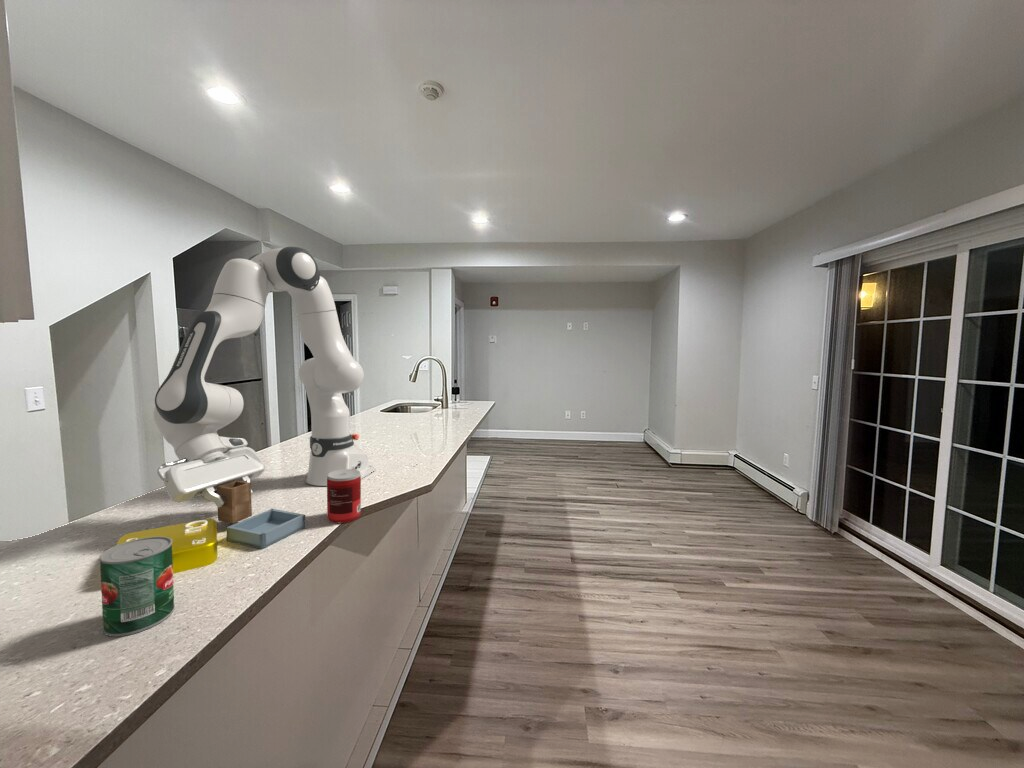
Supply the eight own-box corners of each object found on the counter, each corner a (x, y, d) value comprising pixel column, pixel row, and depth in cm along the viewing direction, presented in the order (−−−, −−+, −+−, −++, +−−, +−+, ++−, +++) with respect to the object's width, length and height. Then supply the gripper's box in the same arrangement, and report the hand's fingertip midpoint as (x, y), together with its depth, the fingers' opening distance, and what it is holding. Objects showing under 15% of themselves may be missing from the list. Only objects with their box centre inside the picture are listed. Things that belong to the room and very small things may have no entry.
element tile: (121, 554, 78) (120, 531, 78) (216, 535, 87) (215, 514, 87) (106, 592, 66) (105, 564, 66) (217, 565, 76) (217, 540, 75)
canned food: (352, 508, 103) (352, 467, 103) (366, 517, 98) (366, 474, 97) (322, 516, 98) (321, 472, 97) (334, 526, 92) (334, 480, 92)
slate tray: (272, 520, 95) (272, 508, 94) (305, 527, 92) (305, 514, 91) (226, 540, 84) (226, 527, 84) (262, 549, 81) (262, 535, 81)
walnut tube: (237, 513, 95) (236, 480, 94) (251, 515, 93) (250, 482, 93) (218, 520, 90) (216, 486, 90) (232, 523, 89) (231, 489, 88)
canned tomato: (91, 626, 58) (87, 553, 57) (157, 597, 65) (155, 532, 64) (119, 644, 54) (116, 567, 54) (186, 610, 62) (183, 542, 61)
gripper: (159, 457, 83) (194, 509, 81) (251, 437, 102) (281, 478, 100) (146, 475, 85) (180, 526, 82) (238, 452, 104) (268, 493, 102)
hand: (236, 500), depth 91 cm, fingers closed on walnut tube, 5 cm apart
